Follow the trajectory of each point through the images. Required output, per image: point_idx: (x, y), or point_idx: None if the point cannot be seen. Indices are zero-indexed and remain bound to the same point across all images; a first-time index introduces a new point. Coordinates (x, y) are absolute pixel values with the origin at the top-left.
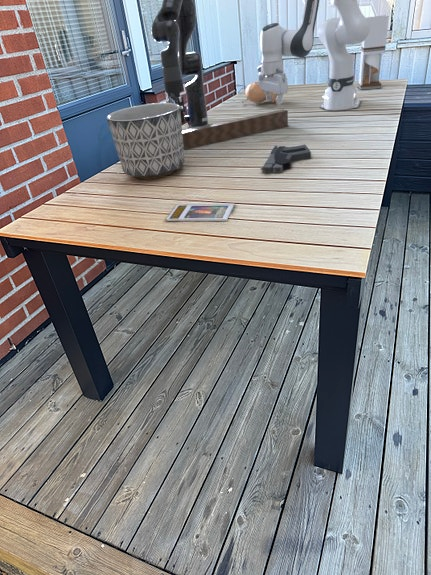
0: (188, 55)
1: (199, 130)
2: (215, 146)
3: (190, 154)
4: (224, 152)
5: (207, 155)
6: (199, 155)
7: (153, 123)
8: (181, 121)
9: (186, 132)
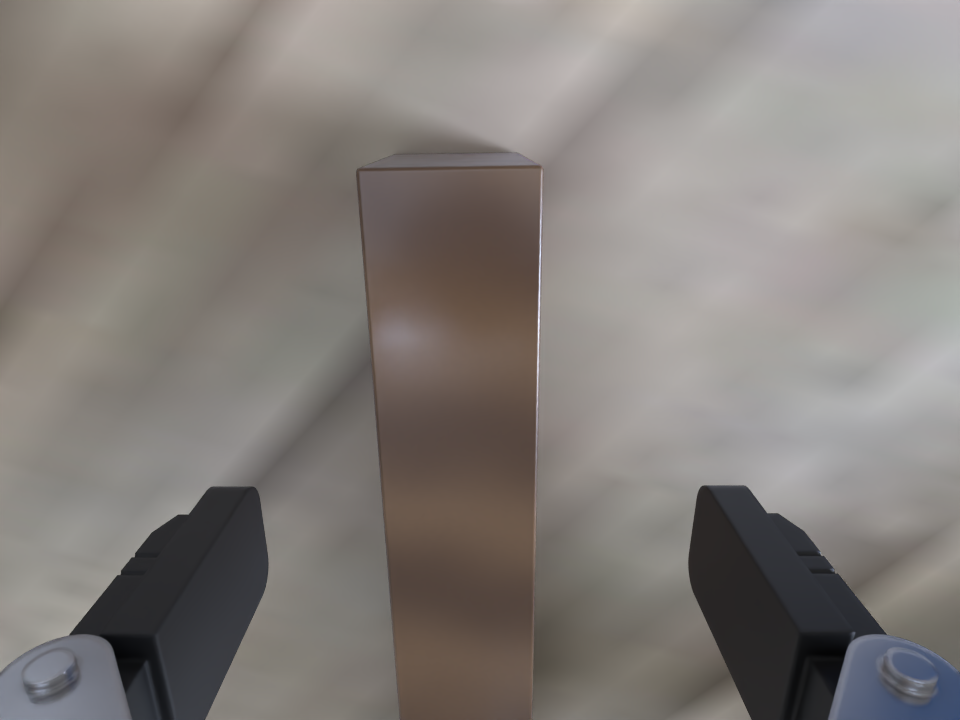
0: None
1: (394, 646)
2: (287, 610)
3: (153, 325)
4: (22, 609)
5: (5, 459)
6: (52, 394)
7: None
8: (171, 534)
9: (382, 479)
